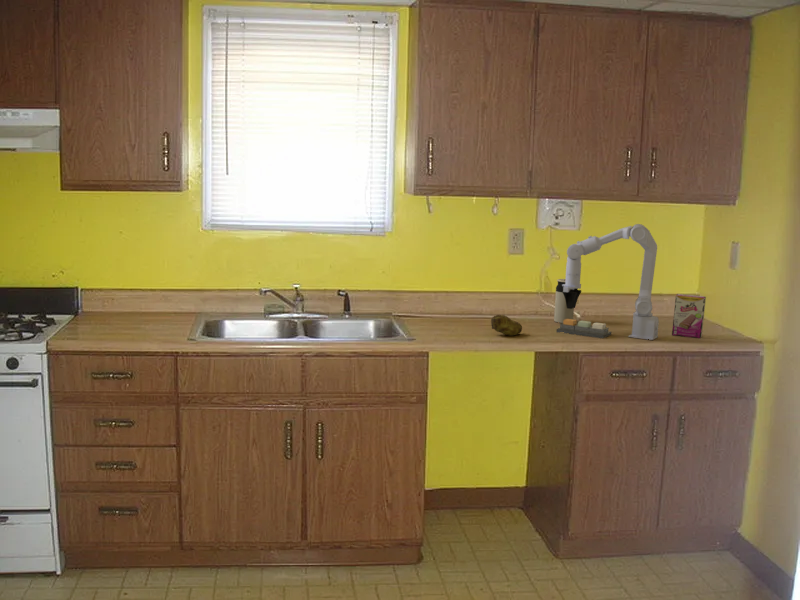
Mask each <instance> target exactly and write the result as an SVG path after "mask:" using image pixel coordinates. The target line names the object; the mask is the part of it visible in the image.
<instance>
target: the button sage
mask: <svg viewBox="0 0 800 600" xmlns="http://www.w3.org/2000/svg"><path fill="white" fill-rule="evenodd" d="M577 324H578V326H580V327H590V326H591V325H592V321H589V320H588V321H587V320H579V321H577Z"/></svg>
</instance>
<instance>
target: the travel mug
mask: <svg viewBox="0 0 800 600" xmlns="http://www.w3.org/2000/svg"><path fill="white" fill-rule="evenodd" d="M565 280H566V278H559V279H556V281H557V285H556V287H555V298H554V300H555V301H554V317H553V321H554V322H555V323H557V322H559V323H558V324H562V323H563V321H564V320H565V319H573V320H574V314H575V313H574V312H575V308H572V309H568V308H567V306H566V300H565V297H564V294H563V287H564V286H562V285H563V284H565Z"/></svg>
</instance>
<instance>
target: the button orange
mask: <svg viewBox="0 0 800 600" xmlns="http://www.w3.org/2000/svg"><path fill="white" fill-rule="evenodd" d="M576 323H577V324H578V319H574V318H573V319H565V320H564V321H563V324H566V325H573V326H574V325H576Z"/></svg>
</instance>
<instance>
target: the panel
mask: <svg viewBox="0 0 800 600" xmlns="http://www.w3.org/2000/svg"><path fill="white" fill-rule="evenodd" d="M592 326H593V324H591V326H590V327H580V326H578V322H577V323H576V325H574V326H573V325H566V324H563V323H559V327H558V328H556V333H560V332H564V333H563V334H567V333H569V334H568V335H574V334H576V336H581V335H582V337H589V338H597V339H605V338H607V337H609V336H611V335H612V331H610V330H609V327H606V328H605V329H595V328H592Z"/></svg>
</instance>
